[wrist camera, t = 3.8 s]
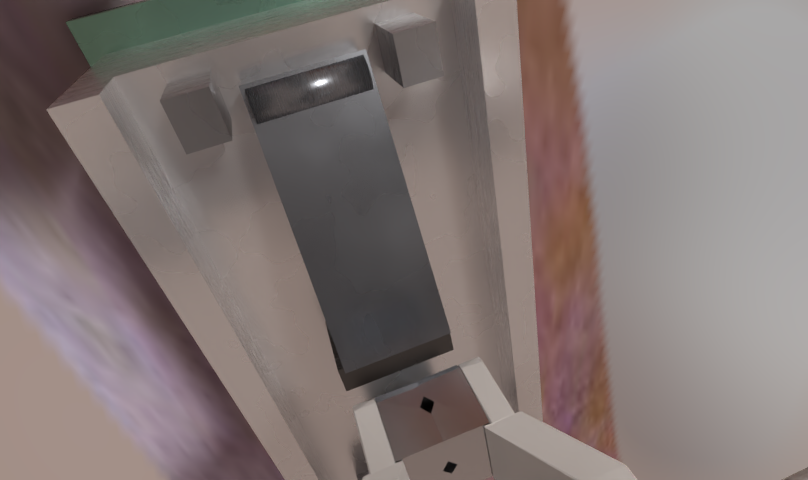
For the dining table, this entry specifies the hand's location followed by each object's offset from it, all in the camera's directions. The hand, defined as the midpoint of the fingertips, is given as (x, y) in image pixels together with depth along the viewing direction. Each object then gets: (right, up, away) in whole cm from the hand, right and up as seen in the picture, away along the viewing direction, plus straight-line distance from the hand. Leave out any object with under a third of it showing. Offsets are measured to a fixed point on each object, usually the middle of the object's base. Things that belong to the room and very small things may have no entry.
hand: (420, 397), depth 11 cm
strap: (-2, +4, +2) cm, 5 cm away
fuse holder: (-3, +3, +10) cm, 10 cm away
